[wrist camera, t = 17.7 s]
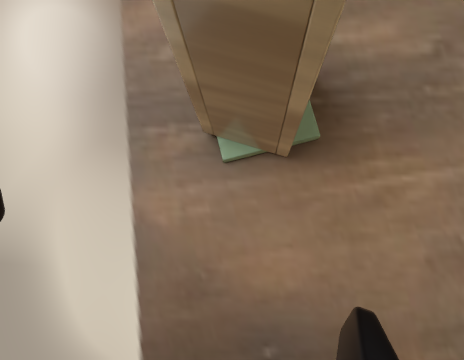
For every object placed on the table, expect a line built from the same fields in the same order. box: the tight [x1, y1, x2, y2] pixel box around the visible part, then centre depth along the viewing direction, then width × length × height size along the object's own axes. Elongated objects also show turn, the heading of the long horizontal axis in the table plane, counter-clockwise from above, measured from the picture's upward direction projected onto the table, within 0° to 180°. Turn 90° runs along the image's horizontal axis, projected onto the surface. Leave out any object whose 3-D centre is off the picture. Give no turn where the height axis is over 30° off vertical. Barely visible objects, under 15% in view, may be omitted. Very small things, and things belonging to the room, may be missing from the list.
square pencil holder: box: [152, 0, 346, 157], centre depth 13 cm, size 5×4×12 cm
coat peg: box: [217, 100, 320, 163], centre depth 18 cm, size 5×5×4 cm
